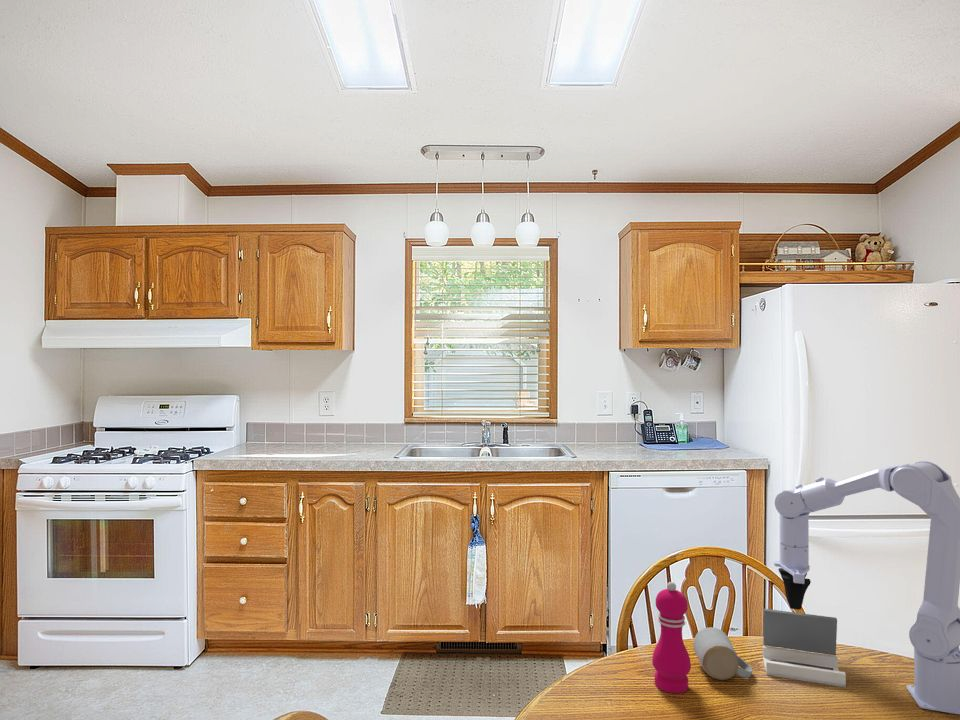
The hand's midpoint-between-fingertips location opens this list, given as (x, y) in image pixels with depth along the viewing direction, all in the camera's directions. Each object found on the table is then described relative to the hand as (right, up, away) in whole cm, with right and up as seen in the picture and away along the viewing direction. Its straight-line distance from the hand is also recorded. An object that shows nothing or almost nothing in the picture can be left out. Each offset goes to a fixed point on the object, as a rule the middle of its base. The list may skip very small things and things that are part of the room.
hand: (794, 605), depth 135 cm
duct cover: (-3, -3, -7) cm, 8 cm away
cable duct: (-4, -9, -10) cm, 14 cm away
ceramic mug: (-20, -9, -11) cm, 25 cm away
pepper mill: (-32, -9, -16) cm, 37 cm away
